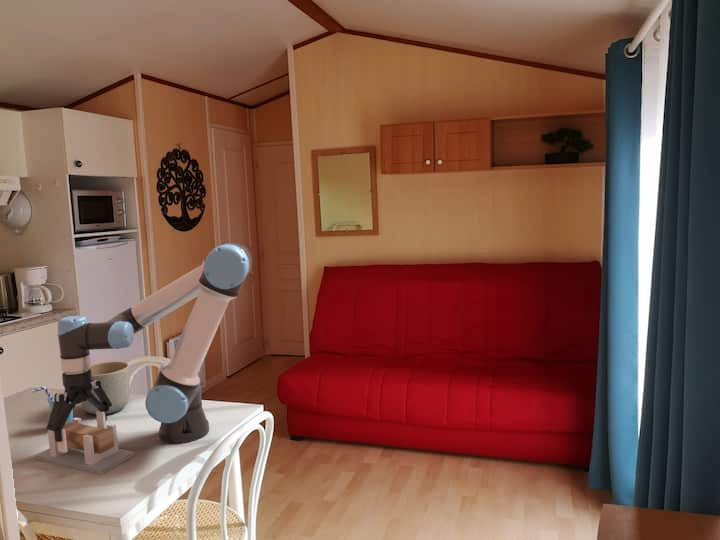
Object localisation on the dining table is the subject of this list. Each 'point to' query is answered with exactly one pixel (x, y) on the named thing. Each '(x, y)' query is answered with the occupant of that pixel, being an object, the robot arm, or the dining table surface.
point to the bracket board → (85, 454)
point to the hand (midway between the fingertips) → (83, 441)
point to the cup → (51, 401)
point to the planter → (111, 384)
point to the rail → (100, 435)
